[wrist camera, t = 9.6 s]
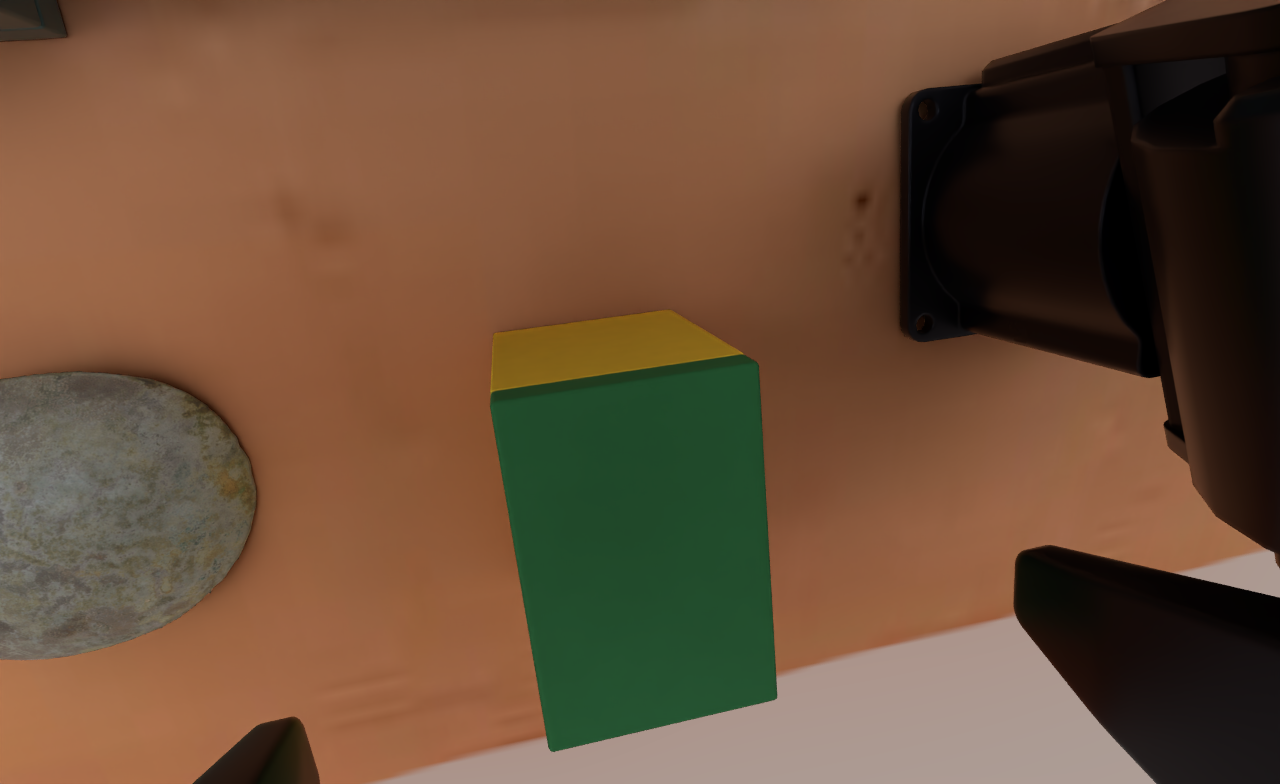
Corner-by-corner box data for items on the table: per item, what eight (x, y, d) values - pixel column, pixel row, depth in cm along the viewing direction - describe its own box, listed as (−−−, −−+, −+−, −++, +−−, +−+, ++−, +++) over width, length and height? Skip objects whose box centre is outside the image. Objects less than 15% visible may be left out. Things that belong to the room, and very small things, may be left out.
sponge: (692, 547, 20) (779, 701, 14) (533, 578, 19) (549, 754, 13) (671, 308, 18) (760, 362, 12) (492, 333, 17) (489, 403, 11)
